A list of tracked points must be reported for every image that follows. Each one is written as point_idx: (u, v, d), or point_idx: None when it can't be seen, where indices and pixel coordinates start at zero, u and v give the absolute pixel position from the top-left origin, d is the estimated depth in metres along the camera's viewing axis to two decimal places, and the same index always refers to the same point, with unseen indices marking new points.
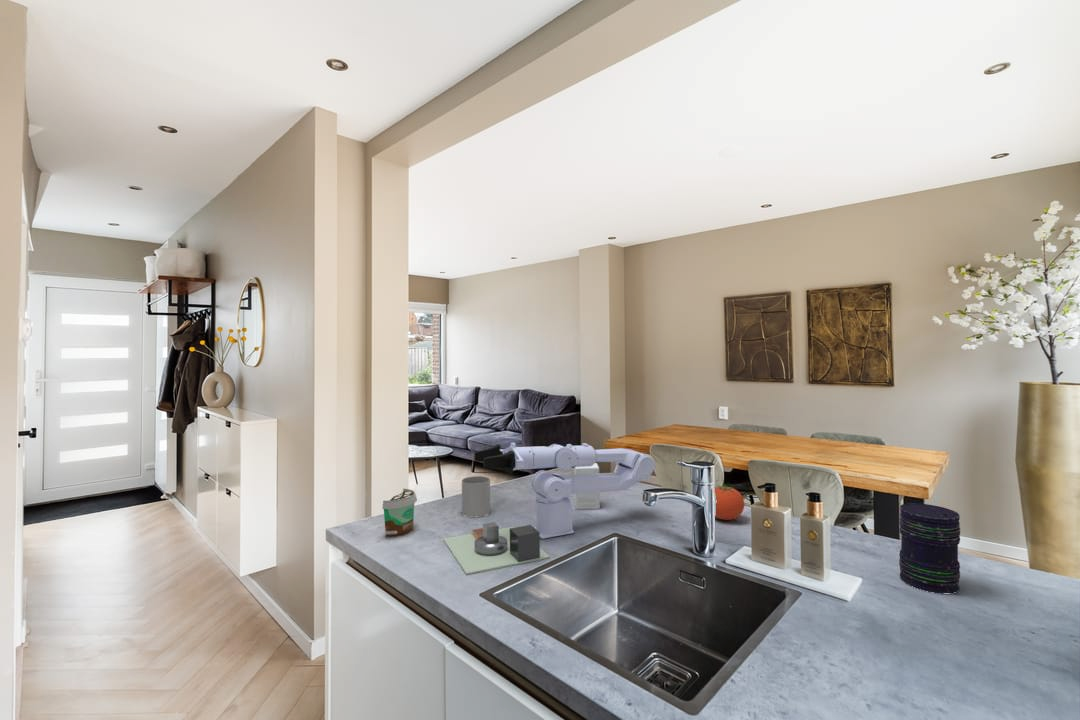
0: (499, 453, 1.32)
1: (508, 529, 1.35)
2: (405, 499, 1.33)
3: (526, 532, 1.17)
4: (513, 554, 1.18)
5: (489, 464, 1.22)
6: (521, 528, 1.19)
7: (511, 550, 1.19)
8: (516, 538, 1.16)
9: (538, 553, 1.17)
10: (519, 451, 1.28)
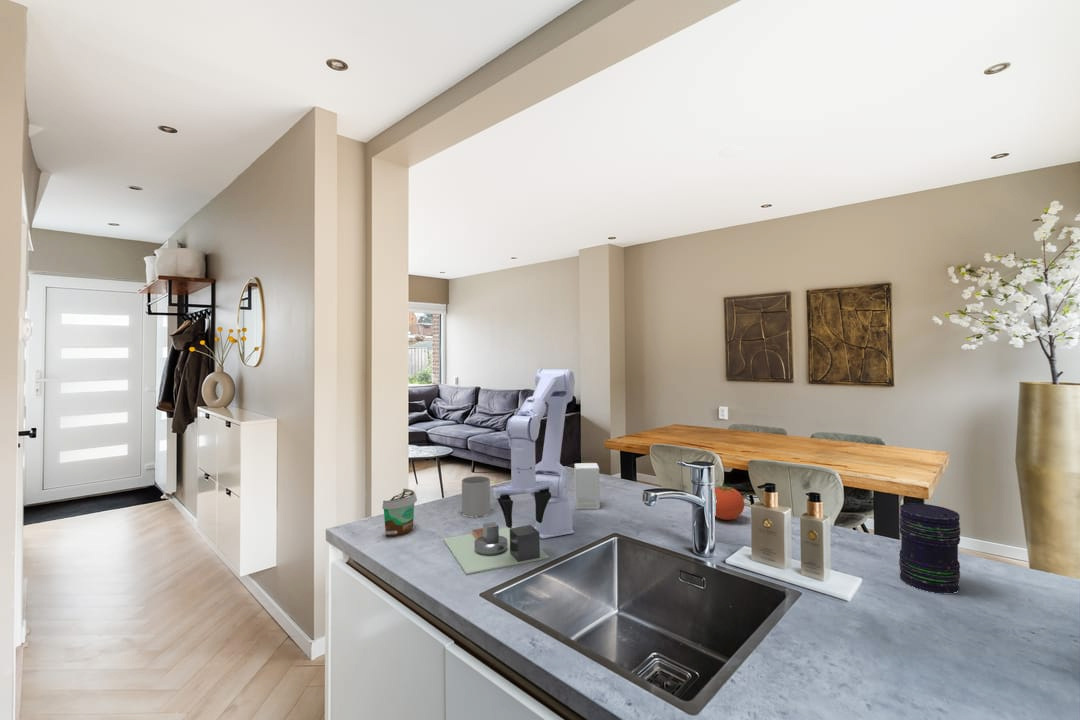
0: None
1: (508, 529, 1.35)
2: (405, 499, 1.33)
3: (526, 532, 1.17)
4: (513, 554, 1.18)
5: None
6: (521, 528, 1.19)
7: (511, 550, 1.19)
8: (516, 538, 1.16)
9: (538, 553, 1.17)
10: (534, 483, 1.17)
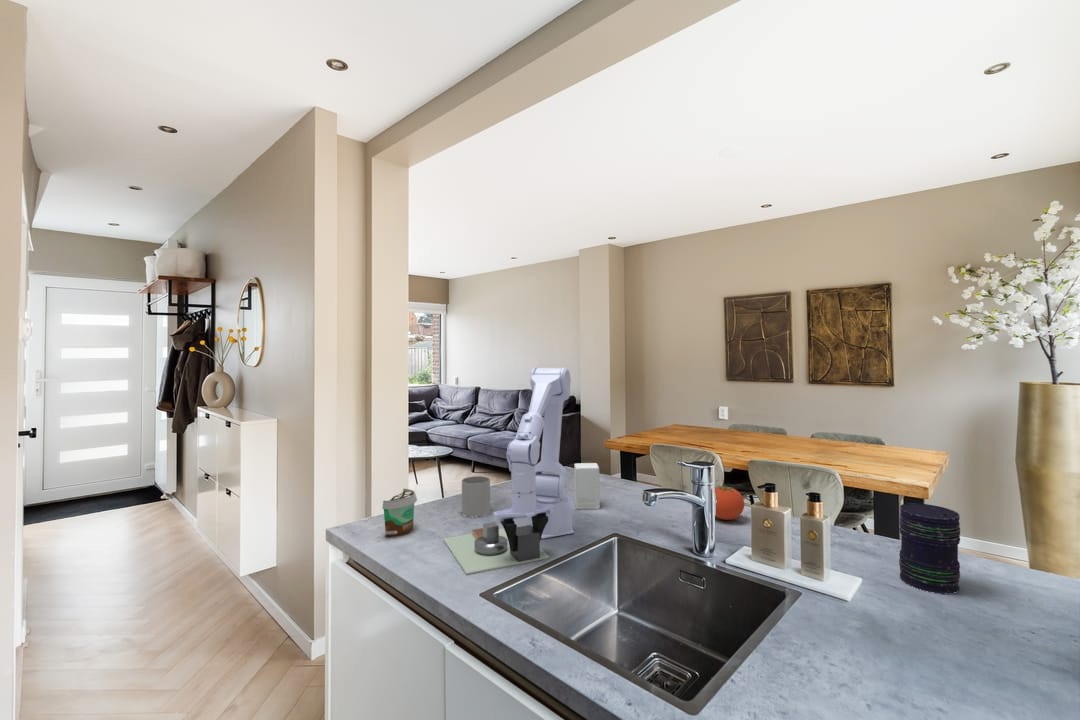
0: None
1: None
2: (405, 499, 1.33)
3: (526, 532, 1.17)
4: (513, 554, 1.18)
5: None
6: (521, 528, 1.19)
7: (511, 550, 1.19)
8: (516, 538, 1.16)
9: (538, 553, 1.17)
10: (534, 506, 1.17)
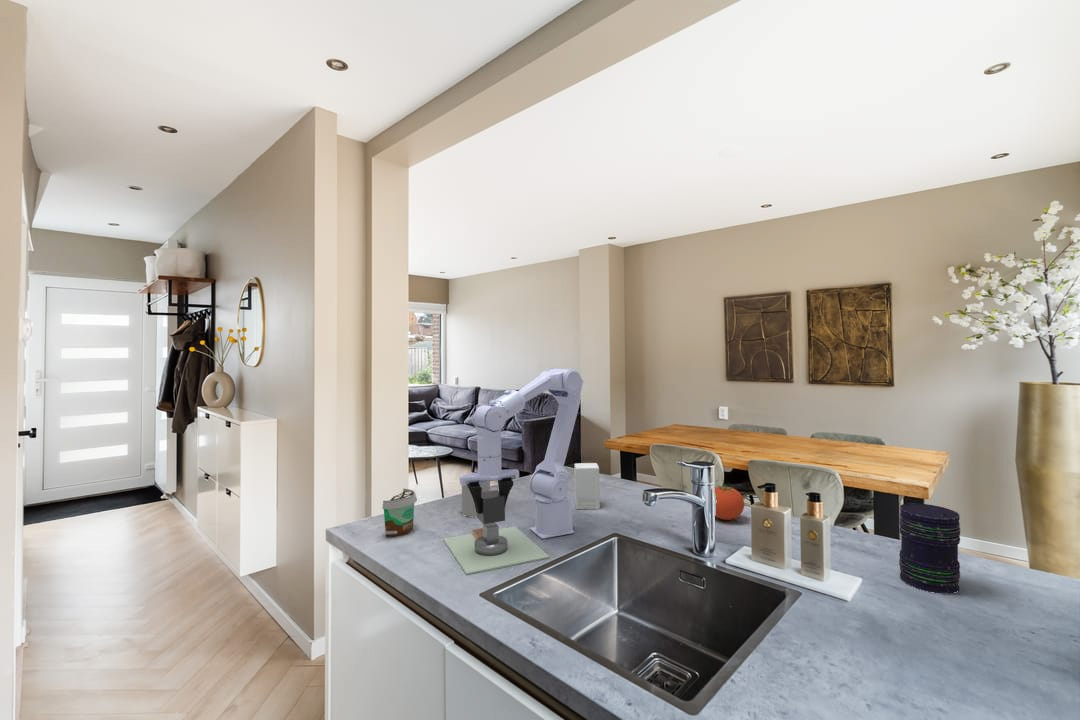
0: None
1: (508, 529, 1.35)
2: (405, 499, 1.33)
3: (492, 496, 1.20)
4: (479, 517, 1.21)
5: None
6: (487, 493, 1.23)
7: (478, 514, 1.22)
8: (482, 501, 1.19)
9: (503, 516, 1.20)
10: (499, 470, 1.21)
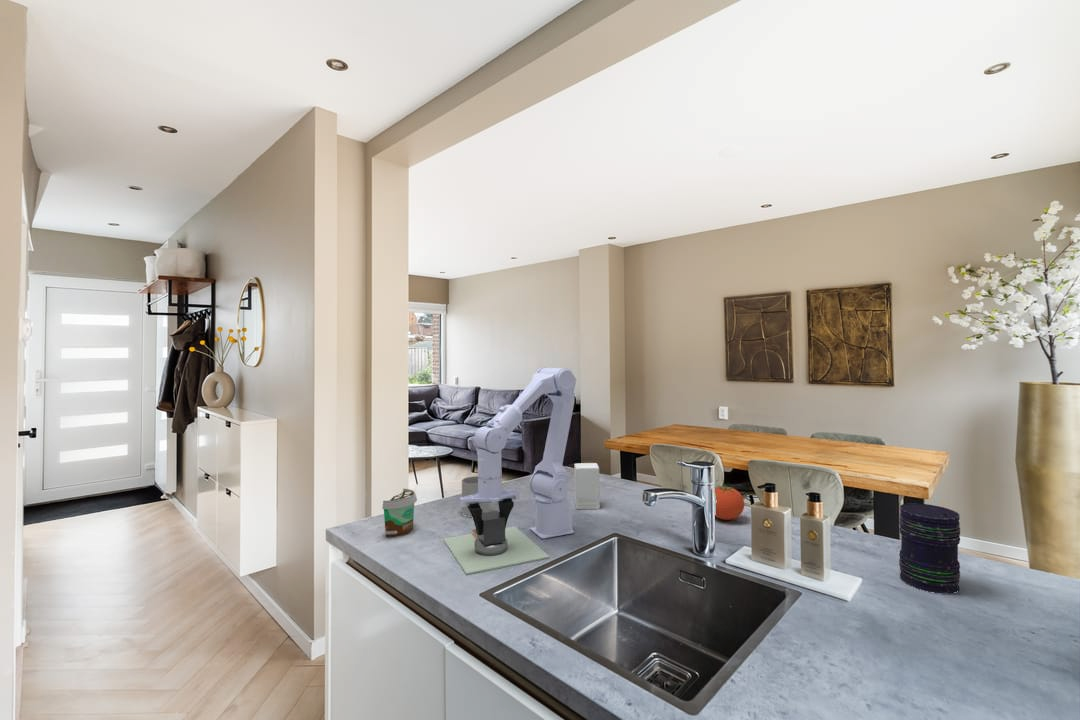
0: None
1: (508, 529, 1.35)
2: (405, 499, 1.33)
3: (492, 517, 1.21)
4: (480, 538, 1.21)
5: None
6: (488, 513, 1.23)
7: (478, 535, 1.22)
8: (482, 523, 1.19)
9: (504, 537, 1.21)
10: (500, 492, 1.21)
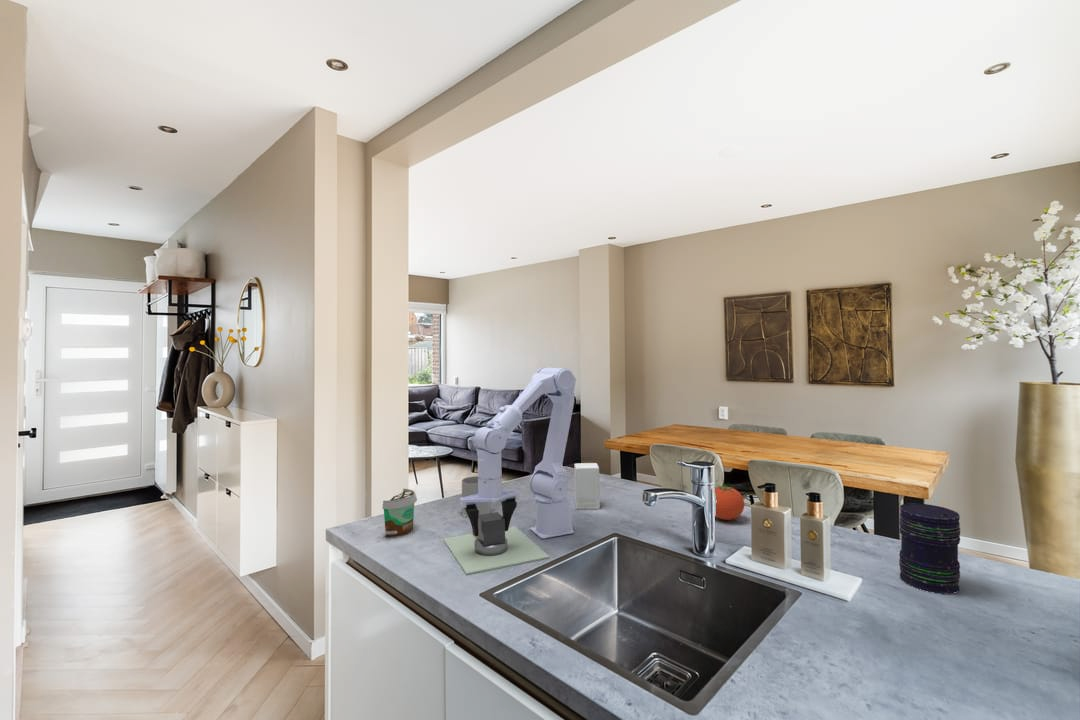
0: None
1: (508, 529, 1.35)
2: (405, 499, 1.33)
3: (492, 518, 1.21)
4: (479, 540, 1.21)
5: None
6: (488, 515, 1.23)
7: (478, 536, 1.23)
8: (482, 524, 1.19)
9: (503, 539, 1.21)
10: (500, 492, 1.21)
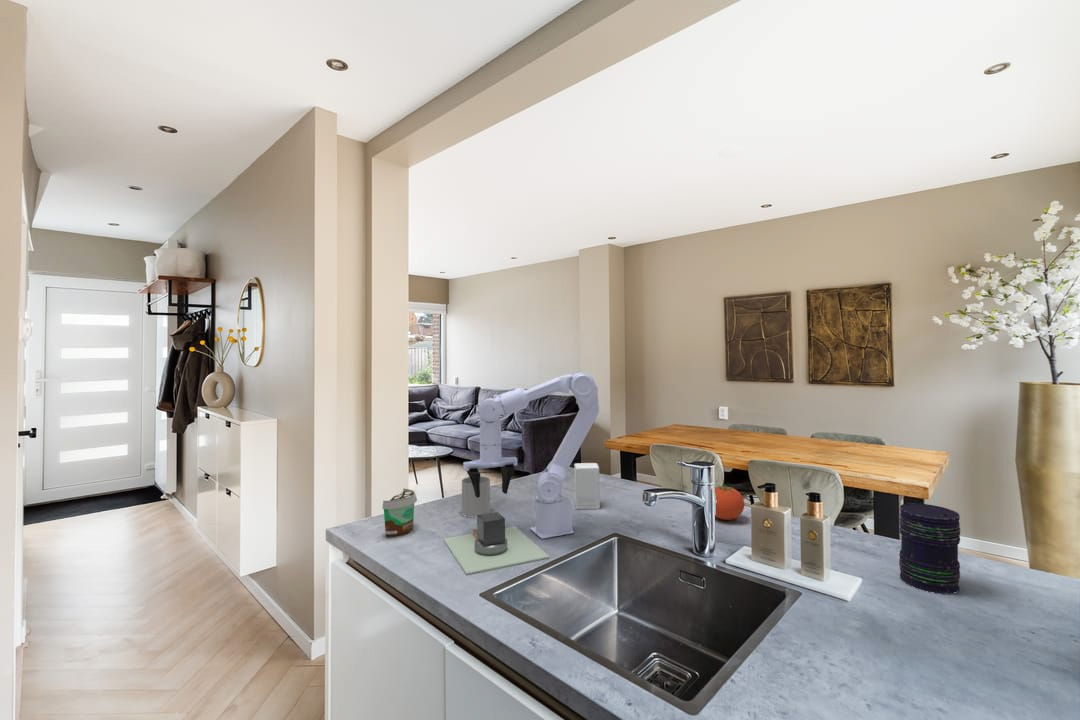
0: None
1: (508, 529, 1.35)
2: (405, 499, 1.33)
3: (492, 518, 1.21)
4: (479, 540, 1.21)
5: None
6: (488, 515, 1.23)
7: (478, 536, 1.23)
8: (482, 524, 1.19)
9: (503, 539, 1.21)
10: (500, 458, 1.32)
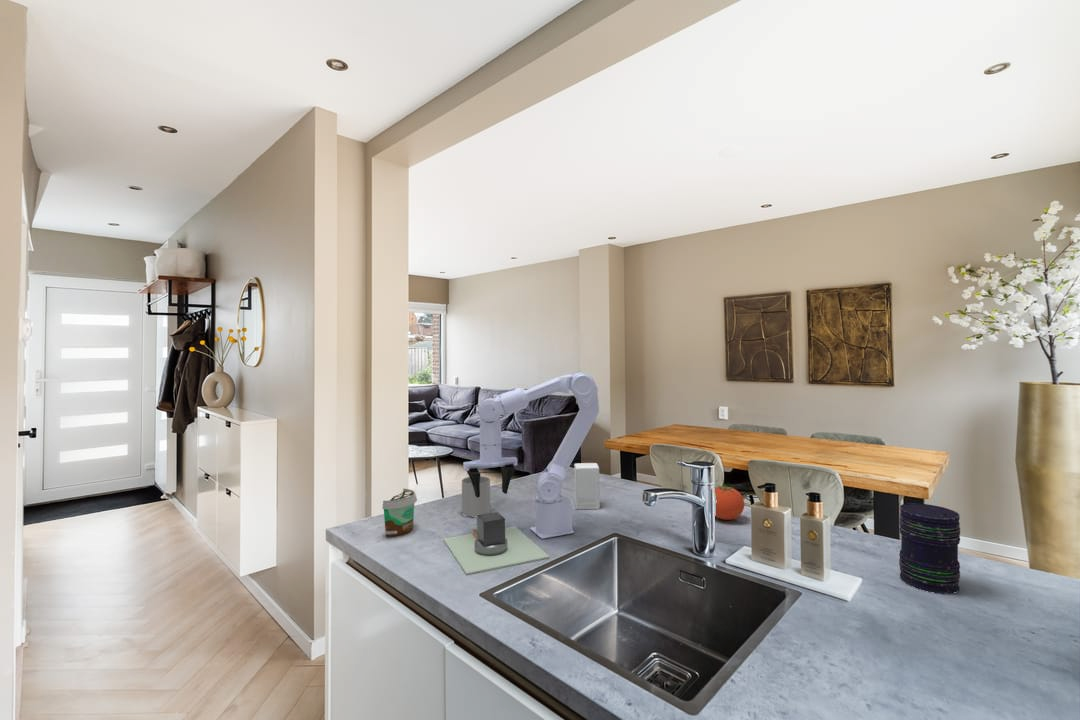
0: None
1: (508, 529, 1.35)
2: (405, 499, 1.33)
3: (492, 518, 1.21)
4: (479, 540, 1.21)
5: None
6: (488, 515, 1.23)
7: (478, 536, 1.23)
8: (482, 524, 1.19)
9: (503, 539, 1.21)
10: (500, 458, 1.32)
